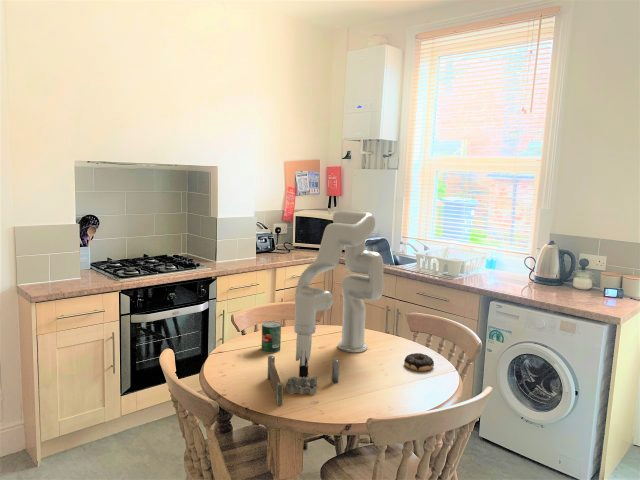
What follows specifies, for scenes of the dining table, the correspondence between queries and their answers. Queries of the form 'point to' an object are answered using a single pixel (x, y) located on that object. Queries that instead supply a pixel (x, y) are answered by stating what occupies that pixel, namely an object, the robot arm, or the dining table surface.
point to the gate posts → (334, 368)
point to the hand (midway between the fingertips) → (303, 376)
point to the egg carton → (296, 383)
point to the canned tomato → (271, 336)
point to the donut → (419, 362)
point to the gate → (276, 383)
